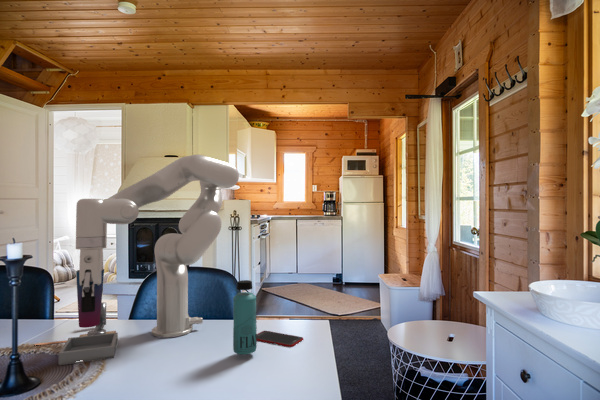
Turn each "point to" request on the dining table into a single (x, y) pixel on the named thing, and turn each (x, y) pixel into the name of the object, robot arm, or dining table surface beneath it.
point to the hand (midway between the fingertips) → (90, 308)
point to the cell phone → (278, 338)
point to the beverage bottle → (244, 319)
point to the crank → (99, 328)
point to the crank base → (66, 340)
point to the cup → (94, 317)
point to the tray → (88, 348)
